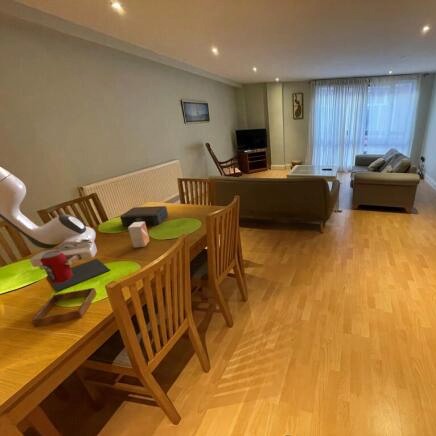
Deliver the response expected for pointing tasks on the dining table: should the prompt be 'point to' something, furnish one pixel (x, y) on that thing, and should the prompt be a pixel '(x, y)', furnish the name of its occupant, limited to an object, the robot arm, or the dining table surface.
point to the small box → (139, 234)
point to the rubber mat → (82, 274)
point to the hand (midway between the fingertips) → (54, 265)
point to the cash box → (145, 215)
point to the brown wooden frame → (42, 320)
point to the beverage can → (56, 266)
